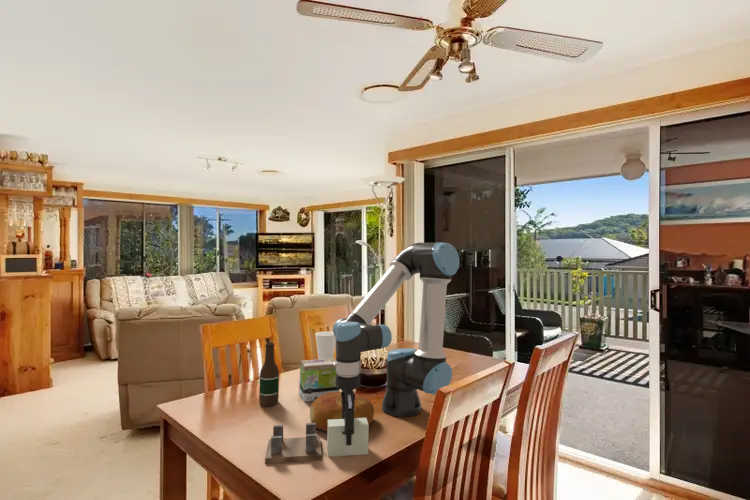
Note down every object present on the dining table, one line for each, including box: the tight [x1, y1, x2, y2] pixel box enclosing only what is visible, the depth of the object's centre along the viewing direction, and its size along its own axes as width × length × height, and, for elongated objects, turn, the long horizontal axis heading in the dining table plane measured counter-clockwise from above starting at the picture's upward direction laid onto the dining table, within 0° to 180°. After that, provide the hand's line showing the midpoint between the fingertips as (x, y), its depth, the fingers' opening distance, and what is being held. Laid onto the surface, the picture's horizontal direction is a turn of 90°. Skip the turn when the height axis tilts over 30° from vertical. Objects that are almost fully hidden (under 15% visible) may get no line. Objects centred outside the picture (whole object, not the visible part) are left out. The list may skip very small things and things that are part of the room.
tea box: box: [298, 357, 340, 403], centre depth 171 cm, size 15×10×15 cm, turn 111°
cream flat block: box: [326, 418, 370, 458], centre depth 125 cm, size 12×5×9 cm, turn 100°
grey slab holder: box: [264, 422, 322, 465], centre depth 124 cm, size 16×12×6 cm
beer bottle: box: [258, 342, 280, 408], centre depth 163 cm, size 8×8×24 cm
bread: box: [309, 391, 375, 432], centre depth 146 cm, size 23×23×10 cm
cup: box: [314, 331, 336, 359], centre depth 222 cm, size 12×12×16 cm
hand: (347, 449), depth 125 cm, fingers closed on cream flat block, 5 cm apart
